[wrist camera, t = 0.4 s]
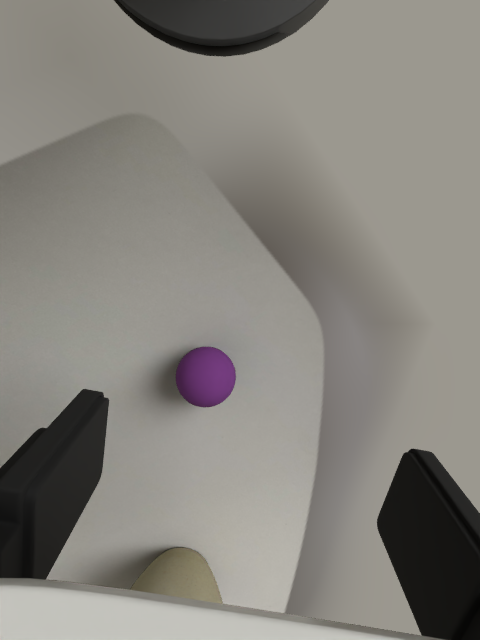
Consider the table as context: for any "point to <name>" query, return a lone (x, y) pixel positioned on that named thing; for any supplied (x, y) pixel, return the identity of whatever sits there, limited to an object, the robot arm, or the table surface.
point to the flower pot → (180, 576)
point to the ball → (205, 377)
